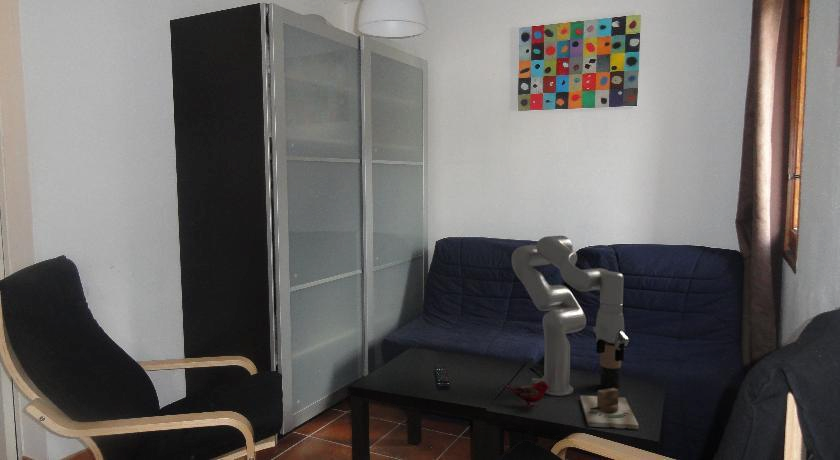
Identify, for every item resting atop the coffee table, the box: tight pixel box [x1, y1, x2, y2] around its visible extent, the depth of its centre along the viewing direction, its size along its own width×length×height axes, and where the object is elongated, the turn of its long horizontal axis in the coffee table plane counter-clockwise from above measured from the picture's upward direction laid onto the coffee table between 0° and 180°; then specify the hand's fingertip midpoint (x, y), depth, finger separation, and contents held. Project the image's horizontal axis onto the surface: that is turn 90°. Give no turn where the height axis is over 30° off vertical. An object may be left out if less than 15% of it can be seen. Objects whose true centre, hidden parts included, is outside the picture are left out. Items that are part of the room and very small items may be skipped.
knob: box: [590, 388, 620, 412], centre depth 206 cm, size 10×7×6 cm, turn 111°
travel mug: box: [599, 341, 622, 390], centre depth 232 cm, size 8×8×20 cm
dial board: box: [579, 394, 640, 430], centre depth 207 cm, size 16×24×2 cm, turn 171°
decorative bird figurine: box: [502, 381, 550, 408], centre depth 214 cm, size 3×18×10 cm, turn 62°
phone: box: [530, 364, 544, 378], centre depth 249 cm, size 8×1×15 cm
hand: (609, 356), depth 205 cm, fingers open, 9 cm apart
